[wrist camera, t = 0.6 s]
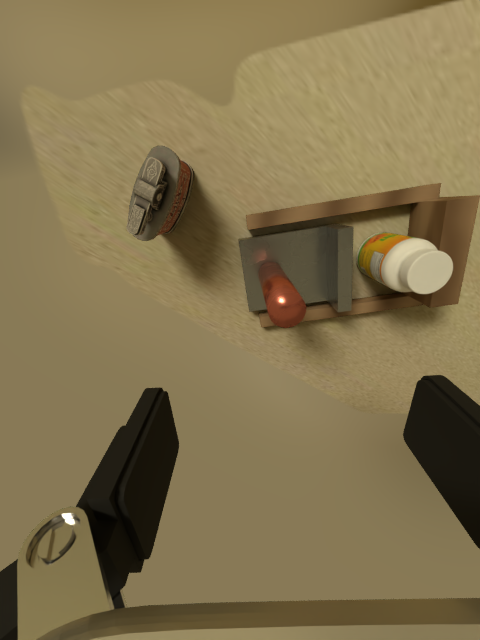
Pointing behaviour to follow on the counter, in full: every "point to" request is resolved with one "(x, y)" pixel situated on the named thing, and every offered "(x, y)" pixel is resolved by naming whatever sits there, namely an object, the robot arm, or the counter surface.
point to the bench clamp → (425, 223)
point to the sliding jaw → (298, 271)
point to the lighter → (159, 194)
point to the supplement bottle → (404, 263)
